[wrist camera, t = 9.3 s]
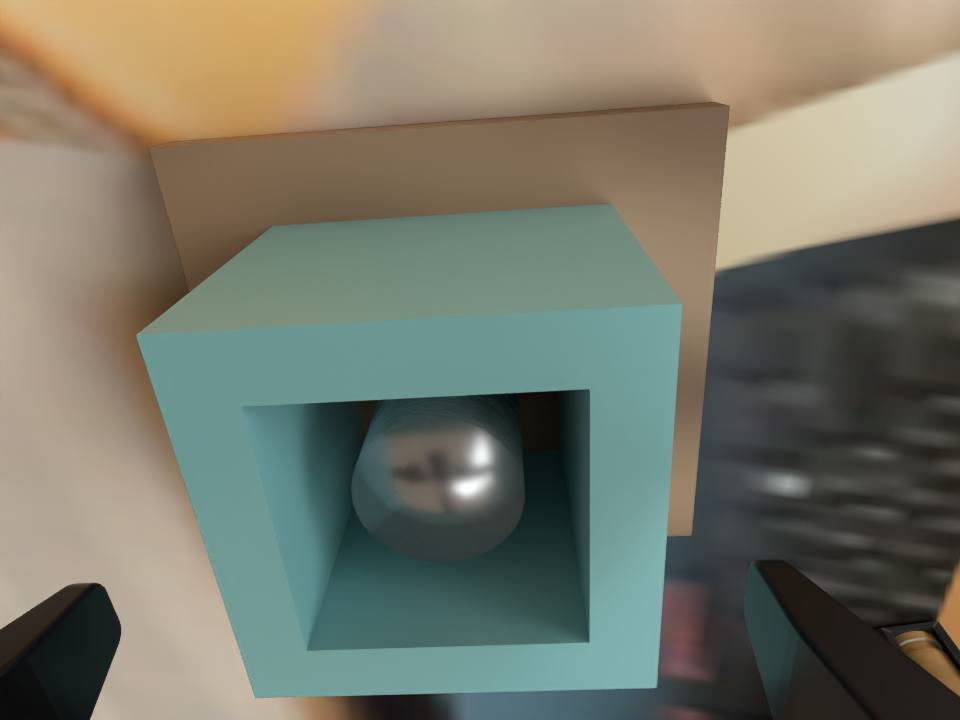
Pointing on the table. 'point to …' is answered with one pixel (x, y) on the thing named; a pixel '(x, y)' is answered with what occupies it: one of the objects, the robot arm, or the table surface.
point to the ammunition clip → (928, 650)
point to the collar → (417, 374)
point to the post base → (455, 190)
